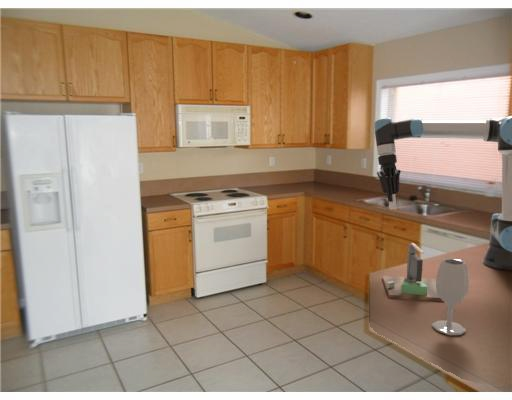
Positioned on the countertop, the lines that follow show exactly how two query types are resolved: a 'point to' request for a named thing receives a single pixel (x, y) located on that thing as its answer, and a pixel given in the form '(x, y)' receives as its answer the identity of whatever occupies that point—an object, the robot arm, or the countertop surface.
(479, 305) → the countertop surface
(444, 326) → the wineglass
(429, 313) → the countertop surface
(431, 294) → the brown square base board
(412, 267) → the signpost stand
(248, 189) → the countertop surface
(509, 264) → the robot arm
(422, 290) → the gauge marks
